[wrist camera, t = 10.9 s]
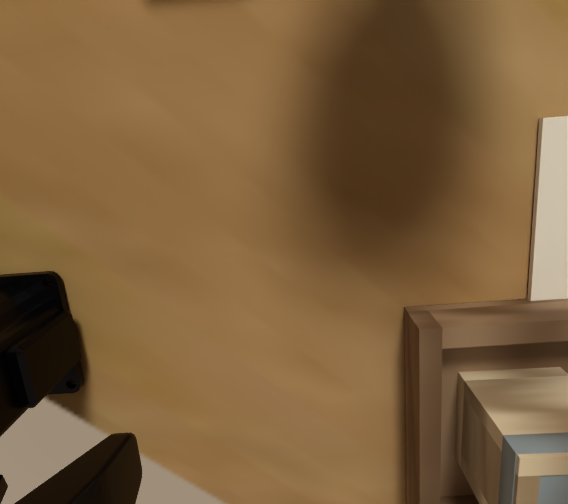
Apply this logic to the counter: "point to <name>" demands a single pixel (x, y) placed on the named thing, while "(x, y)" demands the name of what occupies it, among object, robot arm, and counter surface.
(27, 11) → the counter surface
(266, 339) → the counter surface
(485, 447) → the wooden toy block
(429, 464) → the open box
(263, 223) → the counter surface
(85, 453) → the robot arm
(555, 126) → the card
